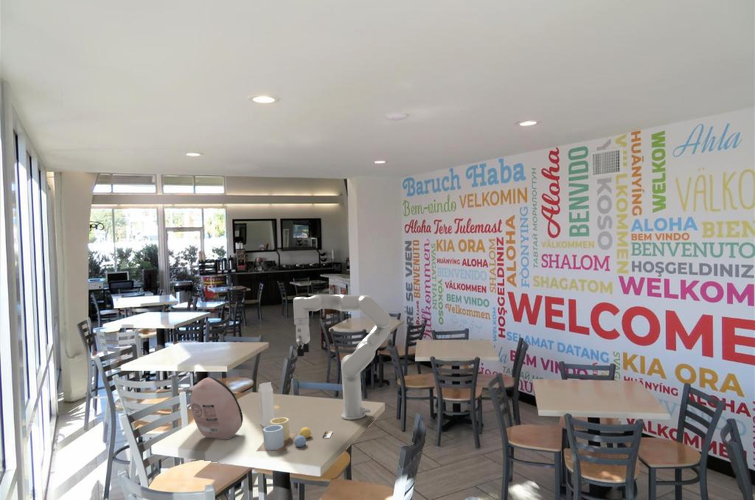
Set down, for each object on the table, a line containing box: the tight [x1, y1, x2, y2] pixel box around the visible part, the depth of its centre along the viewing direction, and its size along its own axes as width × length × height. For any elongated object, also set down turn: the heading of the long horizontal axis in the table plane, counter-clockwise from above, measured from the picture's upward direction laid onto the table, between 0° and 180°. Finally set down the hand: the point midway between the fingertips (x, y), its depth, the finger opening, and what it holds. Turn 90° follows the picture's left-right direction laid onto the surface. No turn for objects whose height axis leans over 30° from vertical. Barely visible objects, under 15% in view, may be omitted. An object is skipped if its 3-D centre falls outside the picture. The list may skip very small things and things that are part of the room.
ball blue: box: [294, 434, 307, 448], centre depth 225 cm, size 5×5×5 cm
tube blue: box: [262, 425, 284, 450], centre depth 226 cm, size 8×8×8 cm
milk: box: [257, 381, 276, 428], centre depth 256 cm, size 6×6×22 cm
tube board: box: [256, 430, 333, 452], centre depth 233 cm, size 30×24×1 cm
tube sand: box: [270, 416, 291, 440], centre depth 236 cm, size 8×8×8 cm
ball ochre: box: [299, 427, 312, 439], centre depth 235 cm, size 5×5×5 cm
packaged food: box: [189, 376, 244, 440], centre depth 244 cm, size 22×20×30 cm
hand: (303, 354), depth 262 cm, fingers open, 9 cm apart
